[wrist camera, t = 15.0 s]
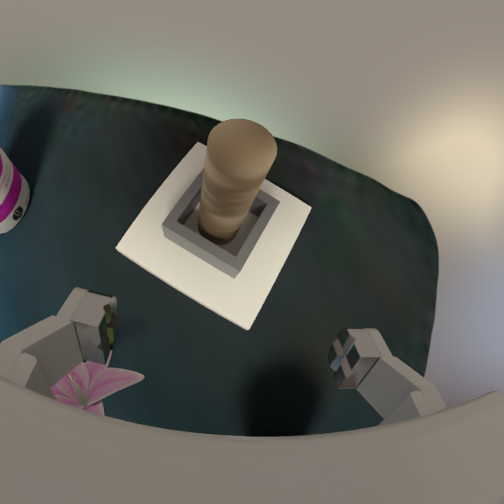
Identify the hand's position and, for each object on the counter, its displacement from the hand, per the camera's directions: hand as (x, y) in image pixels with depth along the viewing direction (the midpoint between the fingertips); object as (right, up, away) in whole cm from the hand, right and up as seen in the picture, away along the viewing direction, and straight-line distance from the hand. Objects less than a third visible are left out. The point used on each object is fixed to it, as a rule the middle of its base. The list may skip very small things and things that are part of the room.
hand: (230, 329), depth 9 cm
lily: (-16, -11, +14) cm, 24 cm away
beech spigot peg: (-3, +5, +20) cm, 21 cm away
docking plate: (-3, +5, +22) cm, 22 cm away
